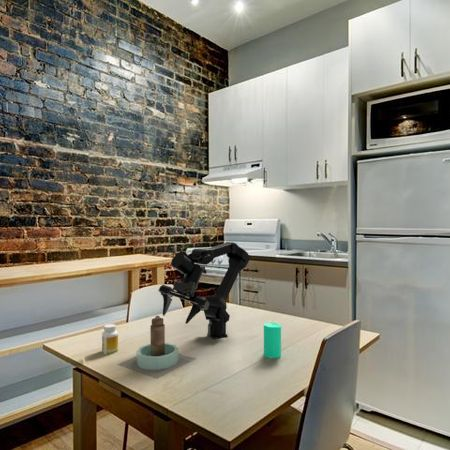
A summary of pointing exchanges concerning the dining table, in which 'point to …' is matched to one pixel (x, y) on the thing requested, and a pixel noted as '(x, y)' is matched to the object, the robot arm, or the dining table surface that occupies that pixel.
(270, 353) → the candle
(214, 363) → the dining table surface
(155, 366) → the bowl
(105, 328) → the supplement bottle
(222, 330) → the robot arm
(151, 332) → the mill
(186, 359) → the mat
